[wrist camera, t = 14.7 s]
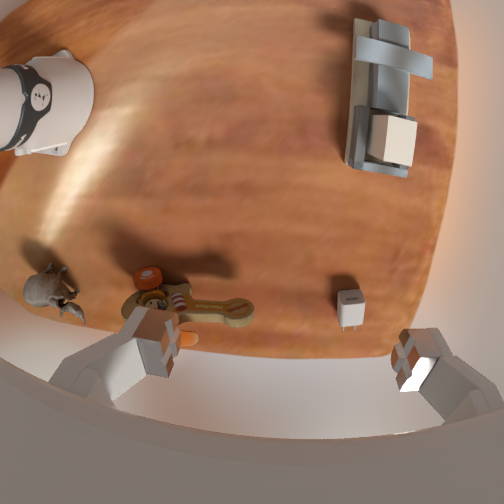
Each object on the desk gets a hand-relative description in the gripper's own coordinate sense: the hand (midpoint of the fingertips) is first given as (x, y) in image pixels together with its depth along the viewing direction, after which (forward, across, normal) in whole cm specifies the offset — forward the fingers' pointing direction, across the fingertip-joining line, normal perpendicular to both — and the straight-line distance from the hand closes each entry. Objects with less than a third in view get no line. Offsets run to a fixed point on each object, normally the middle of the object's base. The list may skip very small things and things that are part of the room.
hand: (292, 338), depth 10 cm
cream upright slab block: (+30, -12, -6) cm, 33 cm away
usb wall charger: (+31, -13, +21) cm, 40 cm away
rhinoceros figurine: (+31, +42, +23) cm, 57 cm away
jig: (+31, -12, -12) cm, 35 cm away
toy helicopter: (+31, +14, +20) cm, 40 cm away
